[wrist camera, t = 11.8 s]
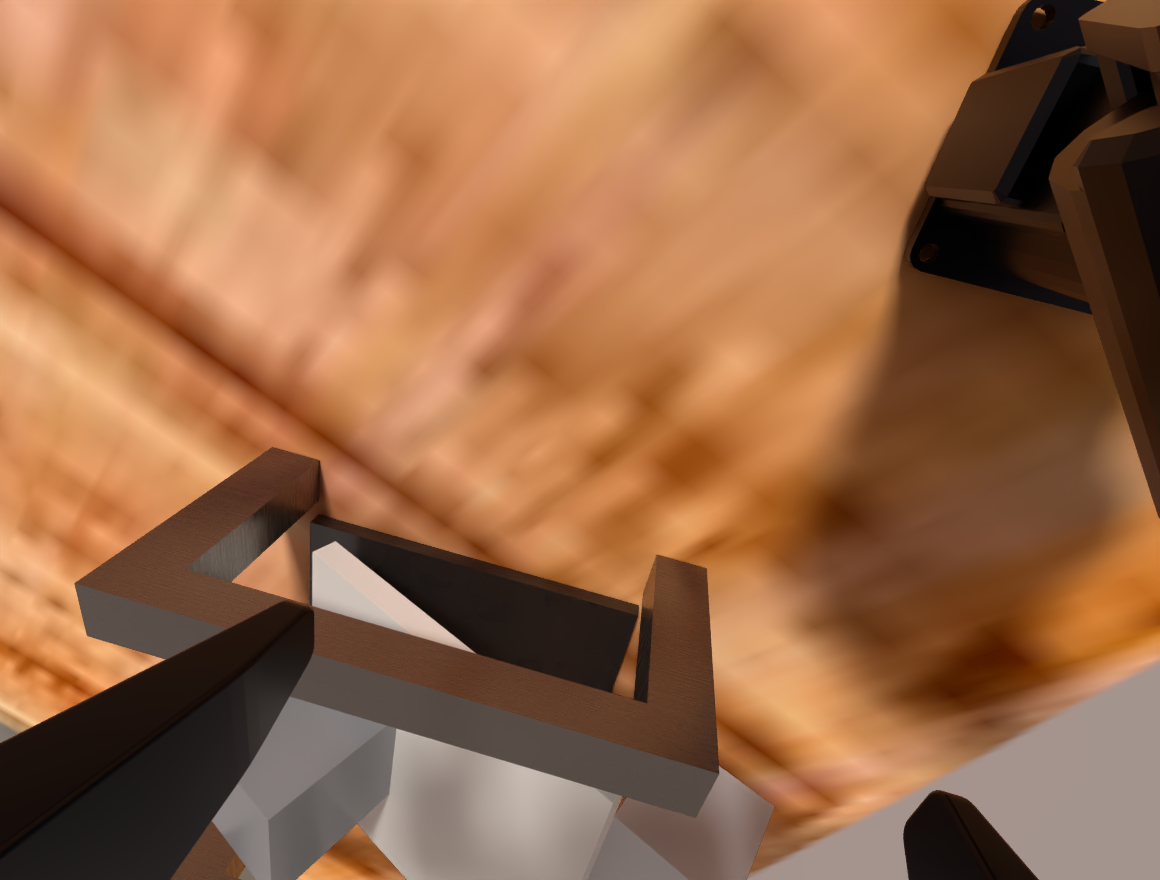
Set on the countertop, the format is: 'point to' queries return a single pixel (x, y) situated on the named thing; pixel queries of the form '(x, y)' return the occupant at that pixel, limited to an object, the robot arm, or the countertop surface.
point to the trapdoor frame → (437, 645)
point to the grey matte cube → (306, 788)
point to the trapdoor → (524, 792)
